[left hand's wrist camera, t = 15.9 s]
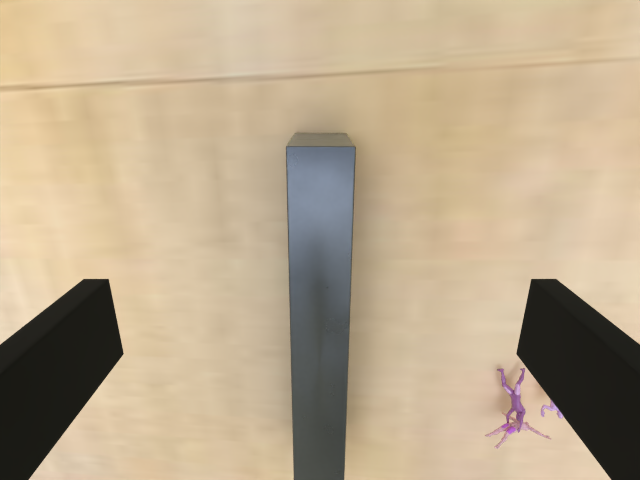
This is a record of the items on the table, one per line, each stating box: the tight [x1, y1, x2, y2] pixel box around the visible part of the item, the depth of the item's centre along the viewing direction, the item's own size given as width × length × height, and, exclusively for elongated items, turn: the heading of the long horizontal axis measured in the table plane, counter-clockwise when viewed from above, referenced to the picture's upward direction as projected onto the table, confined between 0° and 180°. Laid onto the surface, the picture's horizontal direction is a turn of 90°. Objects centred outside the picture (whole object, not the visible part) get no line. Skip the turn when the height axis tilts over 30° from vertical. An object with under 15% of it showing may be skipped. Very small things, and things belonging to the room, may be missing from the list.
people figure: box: [485, 368, 563, 449], centre depth 42 cm, size 18×6×8 cm
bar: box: [286, 133, 356, 480], centre depth 36 cm, size 34×4×10 cm, turn 0°
